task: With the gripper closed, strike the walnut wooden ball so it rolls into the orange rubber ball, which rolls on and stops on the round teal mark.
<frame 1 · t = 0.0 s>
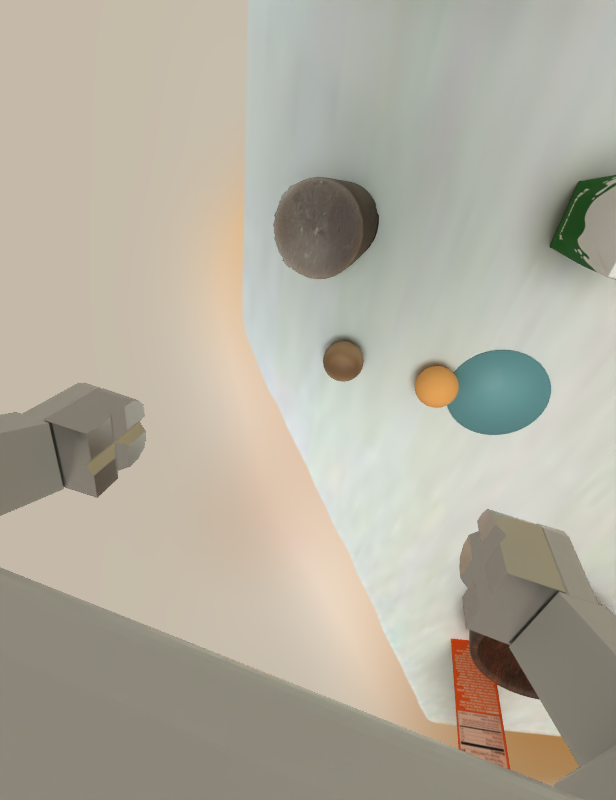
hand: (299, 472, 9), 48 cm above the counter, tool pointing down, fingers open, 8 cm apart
walnut ball: (343, 361, 56), on the counter
orange ball: (436, 386, 54), on the counter
wooden bowl: (532, 607, 74), on the counter
cereal box: (473, 669, 88), on the counter
teal mark: (496, 394, 56), on the counter
pillar candle: (341, 222, 50), on the counter
milk carton: (594, 220, 43), on the counter
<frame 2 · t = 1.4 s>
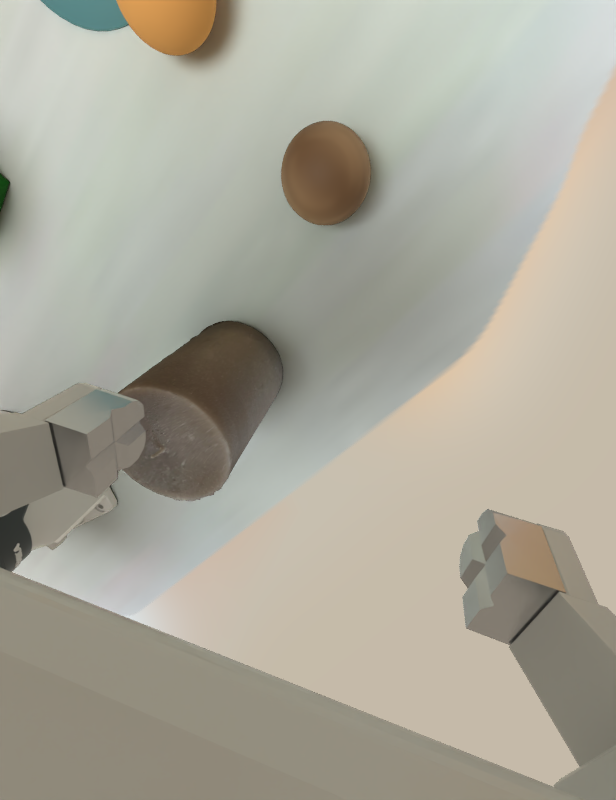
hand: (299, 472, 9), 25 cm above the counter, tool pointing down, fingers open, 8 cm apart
walnut ball: (325, 176, 25), on the counter
pillar candle: (239, 368, 38), on the counter
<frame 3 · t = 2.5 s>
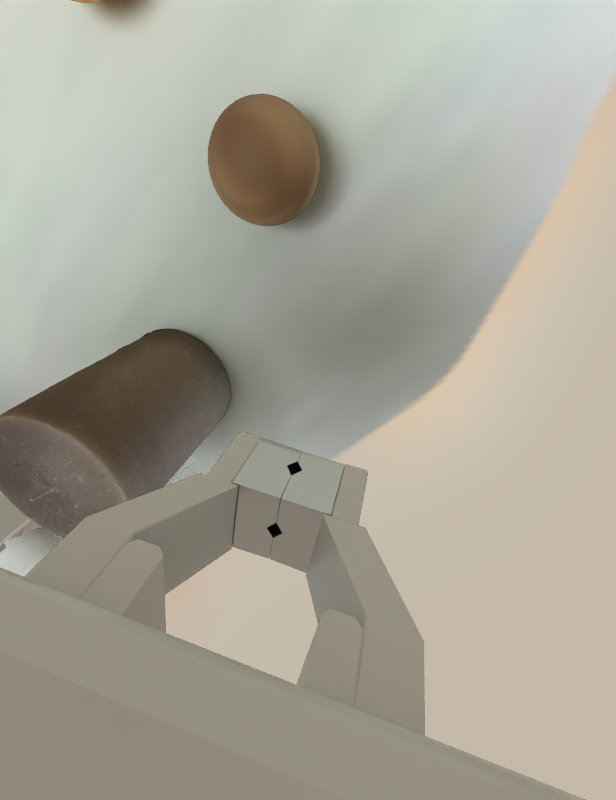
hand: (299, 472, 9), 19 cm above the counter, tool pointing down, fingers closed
walnut ball: (264, 165, 20), on the counter
pillar candle: (183, 382, 33), on the counter
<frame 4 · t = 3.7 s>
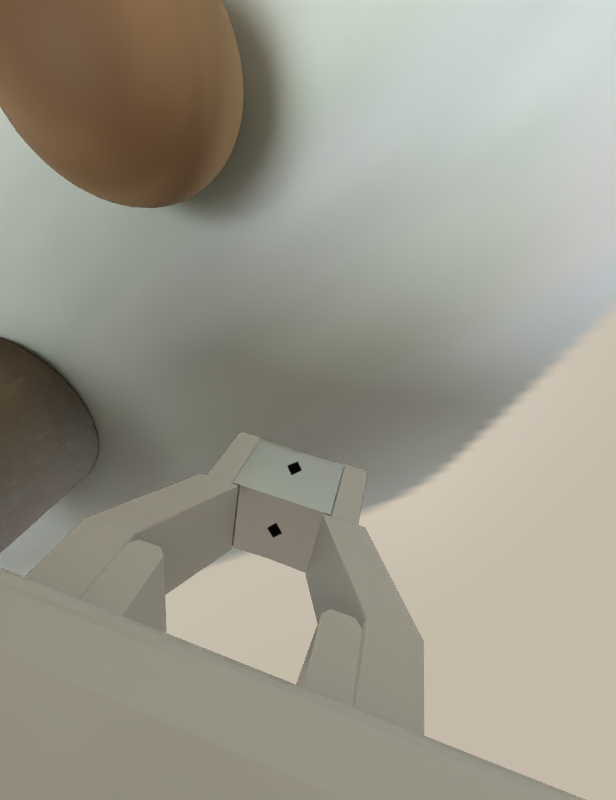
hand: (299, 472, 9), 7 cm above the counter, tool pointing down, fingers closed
walnut ball: (124, 76, 10), on the counter
pillar candle: (30, 415, 22), on the counter
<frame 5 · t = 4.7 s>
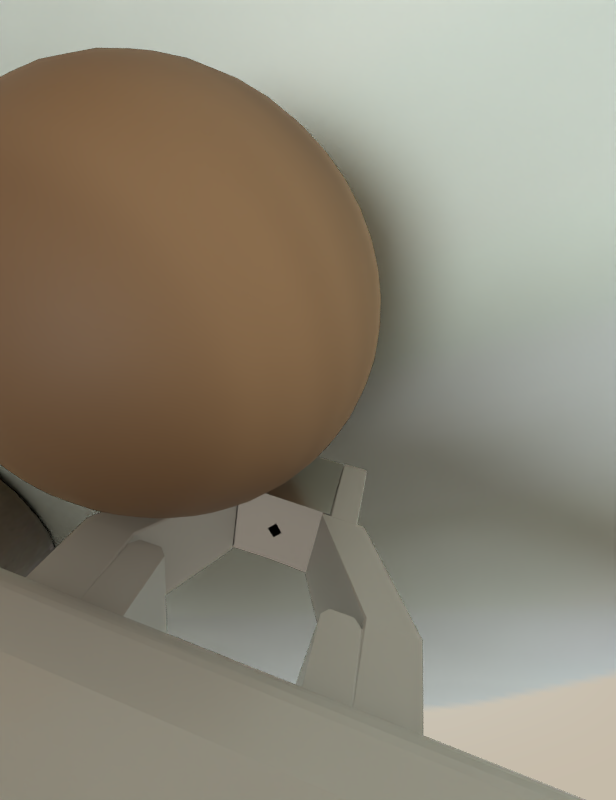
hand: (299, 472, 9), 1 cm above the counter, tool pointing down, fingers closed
walnut ball: (182, 314, 6), on the counter, touching gripper
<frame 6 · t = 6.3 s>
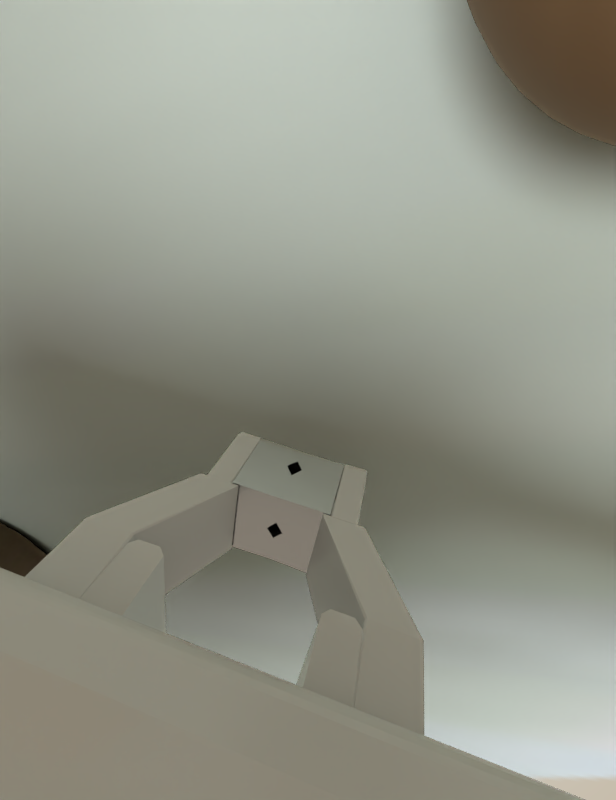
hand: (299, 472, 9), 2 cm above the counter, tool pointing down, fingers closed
pillar candle: (19, 576, 19), on the counter
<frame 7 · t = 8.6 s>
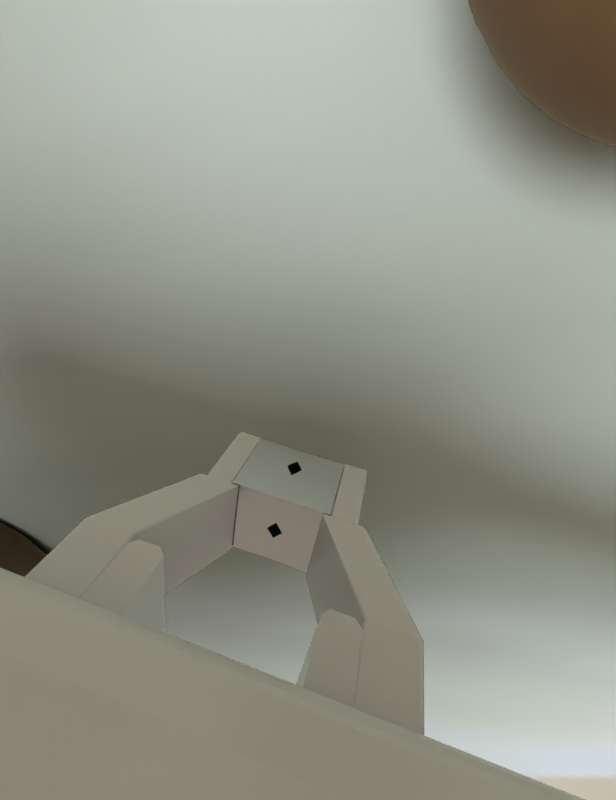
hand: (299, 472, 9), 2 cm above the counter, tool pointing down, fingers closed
pillar candle: (20, 576, 20), on the counter
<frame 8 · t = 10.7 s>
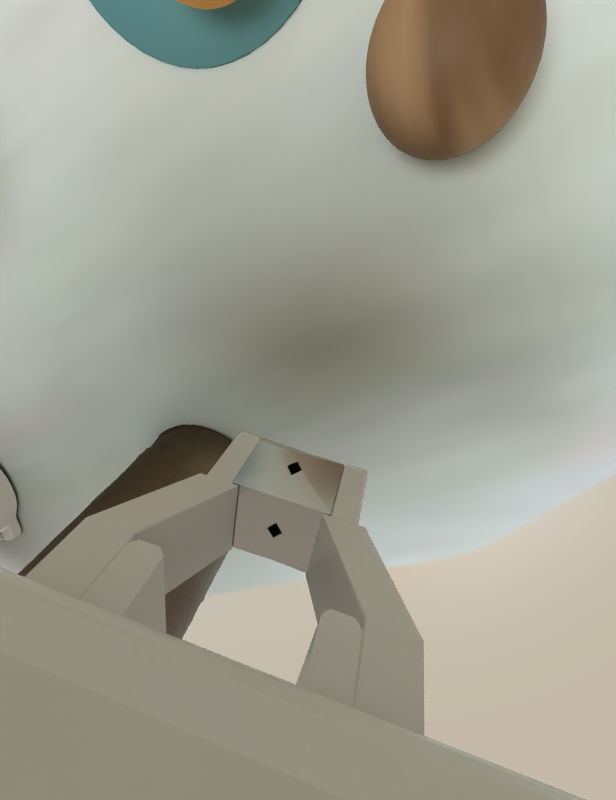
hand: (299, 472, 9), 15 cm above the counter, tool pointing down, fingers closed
walnut ball: (449, 62, 14), on the counter
pillar candle: (207, 472, 32), on the counter
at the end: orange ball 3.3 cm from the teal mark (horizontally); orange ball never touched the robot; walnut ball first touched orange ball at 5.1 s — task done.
